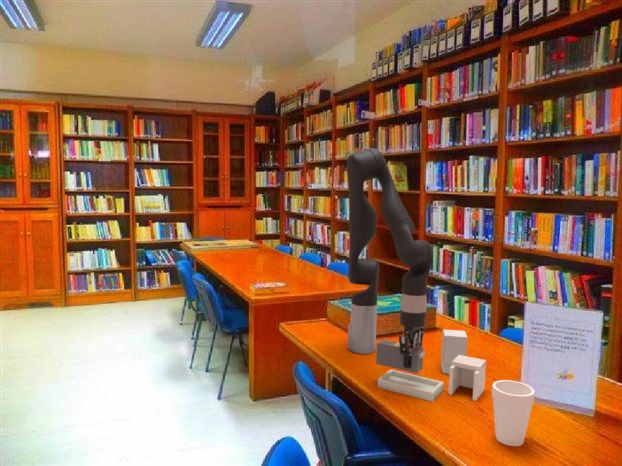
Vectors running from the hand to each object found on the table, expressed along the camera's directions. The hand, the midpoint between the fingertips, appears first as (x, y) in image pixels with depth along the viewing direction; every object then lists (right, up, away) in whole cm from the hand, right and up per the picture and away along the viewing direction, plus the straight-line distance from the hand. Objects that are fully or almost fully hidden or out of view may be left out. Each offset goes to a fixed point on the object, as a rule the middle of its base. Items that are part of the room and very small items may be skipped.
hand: (410, 364), depth 152 cm
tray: (0, -7, +1) cm, 7 cm away
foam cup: (+19, -11, -27) cm, 35 cm away
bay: (+16, -8, 0) cm, 18 cm away
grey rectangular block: (-3, -1, +2) cm, 4 cm away
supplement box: (+17, -6, +16) cm, 24 cm away
